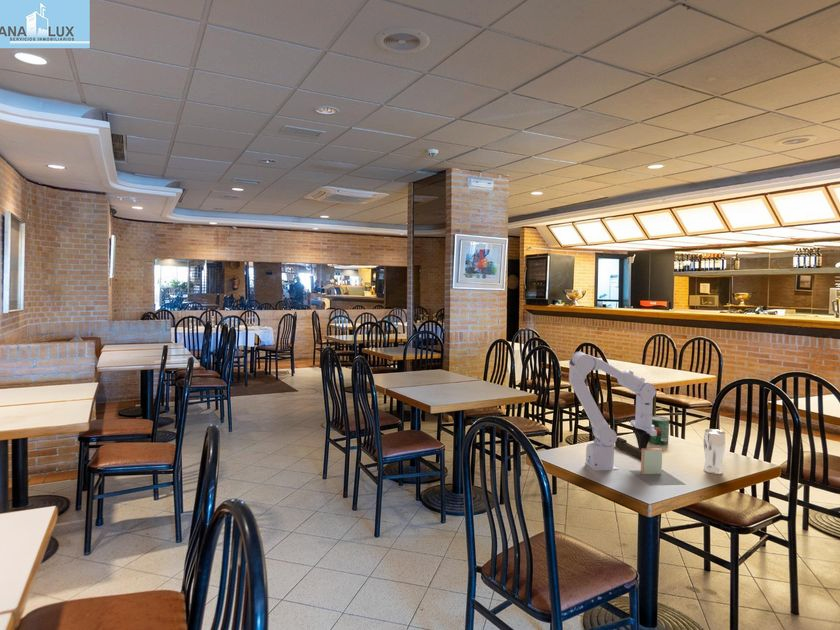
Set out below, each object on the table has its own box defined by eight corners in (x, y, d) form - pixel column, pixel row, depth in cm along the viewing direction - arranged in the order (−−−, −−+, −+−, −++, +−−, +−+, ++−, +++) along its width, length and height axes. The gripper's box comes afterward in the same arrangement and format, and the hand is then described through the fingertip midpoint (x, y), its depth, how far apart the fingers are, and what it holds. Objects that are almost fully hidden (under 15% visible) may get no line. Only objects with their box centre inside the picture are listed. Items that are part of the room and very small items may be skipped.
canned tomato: (645, 443, 224) (646, 418, 223) (652, 439, 229) (653, 415, 229) (664, 447, 218) (665, 421, 217) (671, 443, 223) (672, 418, 223)
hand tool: (649, 461, 201) (649, 449, 201) (640, 461, 200) (640, 449, 200) (621, 446, 219) (621, 435, 219) (612, 446, 219) (613, 435, 218)
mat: (650, 486, 175) (650, 485, 175) (629, 471, 189) (629, 470, 189) (686, 485, 176) (686, 484, 176) (662, 470, 190) (662, 469, 190)
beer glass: (711, 467, 194) (713, 428, 194) (728, 473, 188) (730, 433, 187) (697, 469, 192) (699, 429, 191) (714, 475, 185) (716, 434, 185)
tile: (643, 474, 185) (644, 450, 184) (640, 472, 186) (641, 448, 186) (661, 474, 185) (662, 449, 185) (658, 472, 187) (660, 448, 186)
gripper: (665, 418, 184) (663, 455, 185) (643, 408, 199) (642, 443, 199) (646, 418, 183) (645, 456, 184) (626, 408, 198) (624, 443, 199)
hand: (642, 449), depth 192 cm, fingers closed
